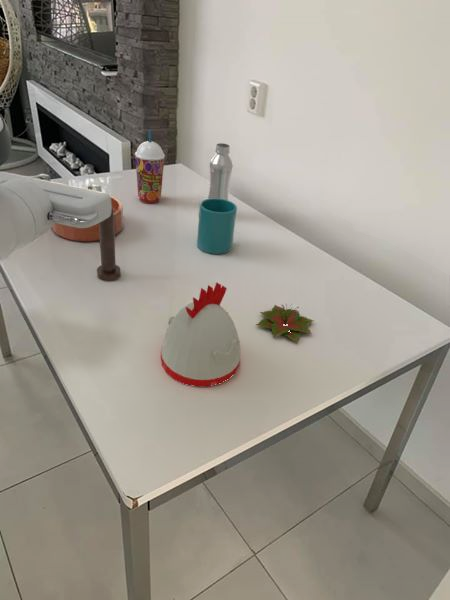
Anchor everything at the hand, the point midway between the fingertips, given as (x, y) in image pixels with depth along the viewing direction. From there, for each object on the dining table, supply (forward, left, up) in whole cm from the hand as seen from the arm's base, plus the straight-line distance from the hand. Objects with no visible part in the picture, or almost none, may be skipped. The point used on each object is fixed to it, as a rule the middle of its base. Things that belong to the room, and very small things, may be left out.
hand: (71, 184), depth 76 cm
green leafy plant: (+41, -4, -25) cm, 48 cm away
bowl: (-5, +34, -24) cm, 42 cm away
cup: (+27, +29, -25) cm, 46 cm away
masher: (+3, +11, -24) cm, 27 cm away
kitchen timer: (+24, -15, -25) cm, 37 cm away
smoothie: (+8, +55, -25) cm, 60 cm away
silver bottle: (+28, +48, -25) cm, 61 cm away
